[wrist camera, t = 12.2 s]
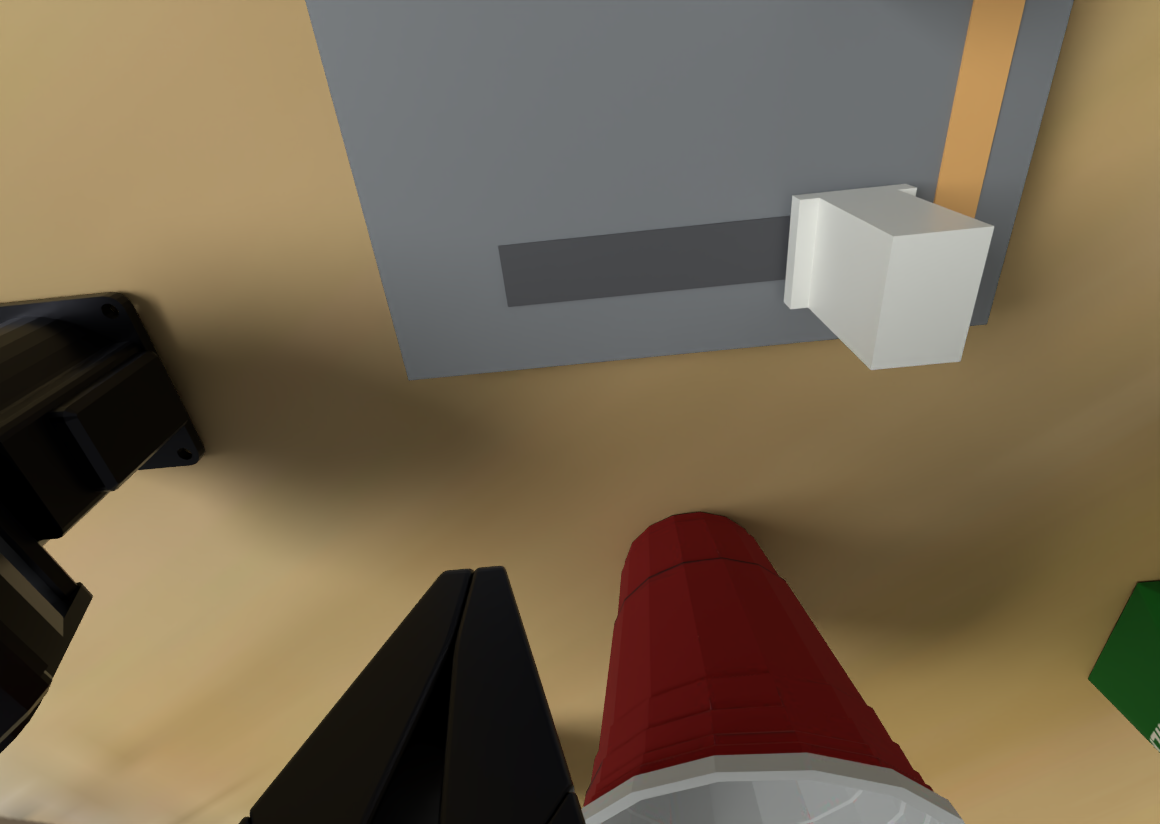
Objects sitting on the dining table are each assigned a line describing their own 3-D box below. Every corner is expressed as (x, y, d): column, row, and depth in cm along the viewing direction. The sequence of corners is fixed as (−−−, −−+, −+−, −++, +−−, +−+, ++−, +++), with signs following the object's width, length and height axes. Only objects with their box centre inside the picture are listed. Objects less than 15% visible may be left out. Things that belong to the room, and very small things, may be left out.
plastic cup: (521, 505, 24) (489, 840, 14) (788, 426, 22) (981, 739, 12) (605, 667, 29) (628, 998, 19) (826, 613, 28) (983, 942, 17)
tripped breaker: (783, 301, 17) (848, 372, 13) (792, 195, 16) (868, 238, 12) (887, 291, 17) (983, 359, 13) (905, 183, 16) (1019, 223, 12)
